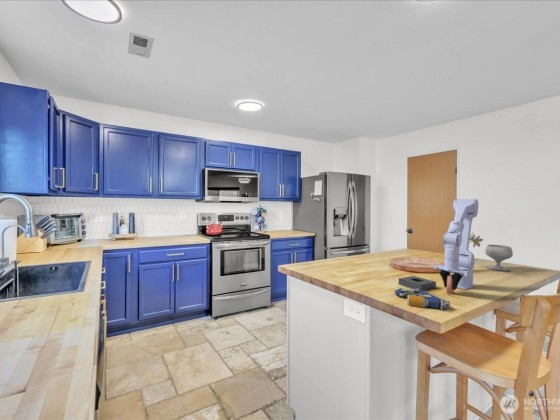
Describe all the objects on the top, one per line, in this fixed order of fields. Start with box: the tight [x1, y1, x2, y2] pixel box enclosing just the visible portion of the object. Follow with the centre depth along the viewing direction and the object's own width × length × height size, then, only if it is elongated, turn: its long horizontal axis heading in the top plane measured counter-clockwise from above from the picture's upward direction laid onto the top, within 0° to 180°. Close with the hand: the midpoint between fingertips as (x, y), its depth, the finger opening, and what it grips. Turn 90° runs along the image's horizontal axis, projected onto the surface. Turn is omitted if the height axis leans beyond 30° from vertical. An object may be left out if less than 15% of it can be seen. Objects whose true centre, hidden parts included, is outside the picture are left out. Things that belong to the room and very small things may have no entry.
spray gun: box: [393, 287, 451, 311], centre depth 116 cm, size 21×4×15 cm
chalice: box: [484, 244, 514, 272], centre depth 179 cm, size 14×14×15 cm
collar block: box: [398, 275, 437, 291], centre depth 138 cm, size 12×12×3 cm
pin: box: [445, 274, 455, 295], centre depth 127 cm, size 3×3×8 cm
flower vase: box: [460, 232, 484, 256], centre depth 172 cm, size 13×18×25 cm
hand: (450, 288), depth 127 cm, fingers closed on pin, 3 cm apart
